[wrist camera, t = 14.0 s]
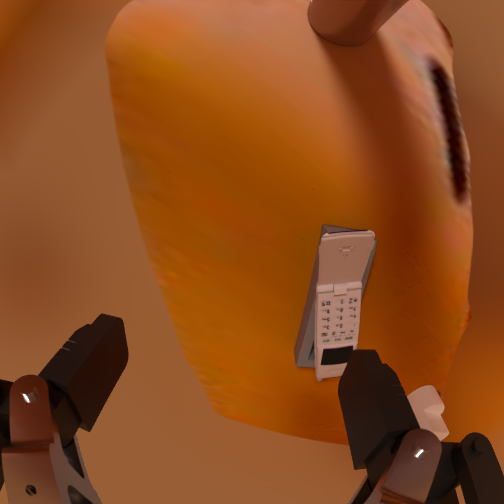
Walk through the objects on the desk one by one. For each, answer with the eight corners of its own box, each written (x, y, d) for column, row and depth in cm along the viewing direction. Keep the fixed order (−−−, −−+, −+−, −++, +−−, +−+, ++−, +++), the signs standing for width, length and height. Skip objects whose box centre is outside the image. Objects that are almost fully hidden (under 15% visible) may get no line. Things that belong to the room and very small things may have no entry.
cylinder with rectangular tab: (394, 407, 49) (409, 447, 37) (422, 381, 46) (443, 421, 35) (414, 413, 50) (429, 449, 39) (441, 389, 47) (460, 424, 36)
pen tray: (322, 224, 36) (329, 232, 32) (367, 231, 36) (377, 240, 32) (293, 350, 43) (295, 366, 39) (331, 352, 43) (335, 368, 39)
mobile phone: (376, 229, 25) (356, 399, 34) (359, 216, 31) (348, 372, 39) (318, 233, 26) (315, 404, 34) (310, 219, 32) (312, 377, 40)
